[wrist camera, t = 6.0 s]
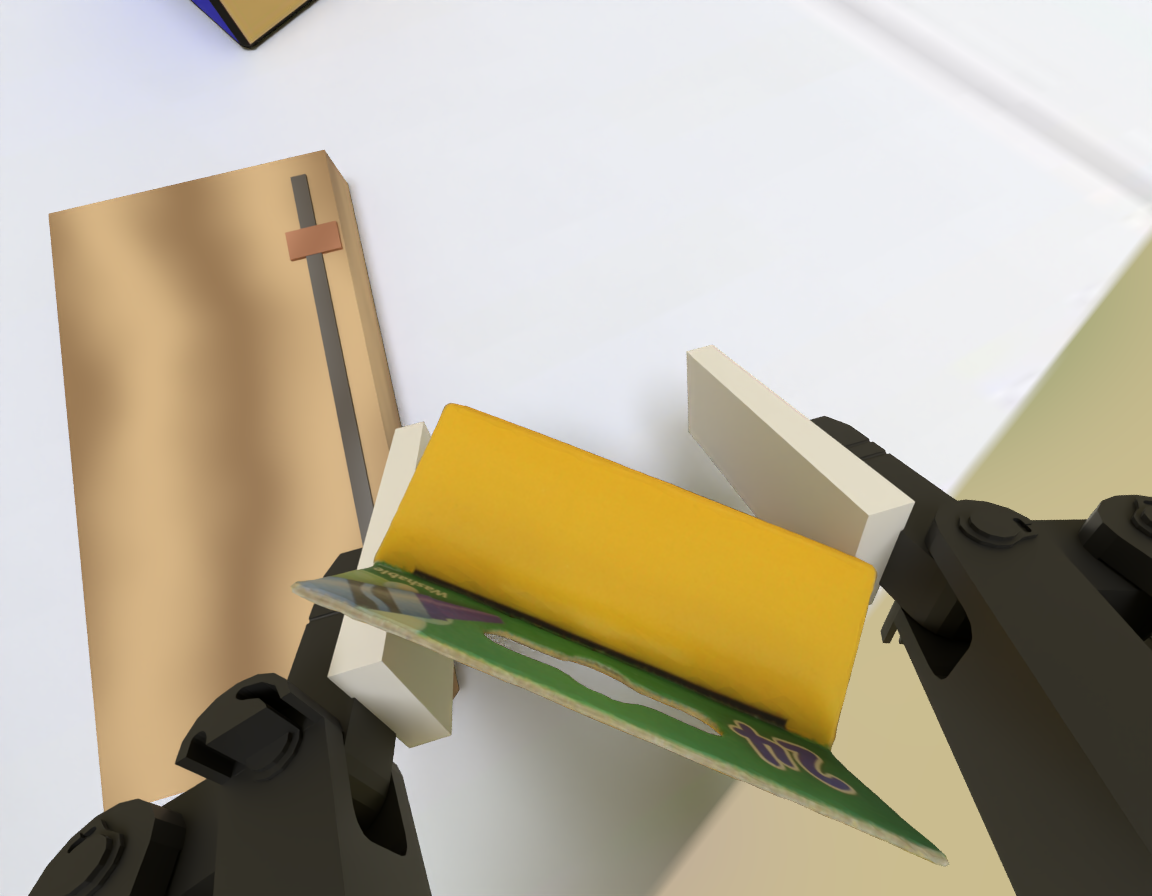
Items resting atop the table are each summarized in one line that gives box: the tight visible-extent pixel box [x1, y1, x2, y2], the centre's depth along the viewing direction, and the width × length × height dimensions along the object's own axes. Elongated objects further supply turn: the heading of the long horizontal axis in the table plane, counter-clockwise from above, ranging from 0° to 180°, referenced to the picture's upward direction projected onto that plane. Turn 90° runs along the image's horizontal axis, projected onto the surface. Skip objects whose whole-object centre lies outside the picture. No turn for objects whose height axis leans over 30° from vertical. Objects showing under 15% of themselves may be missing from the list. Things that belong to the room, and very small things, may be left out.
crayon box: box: [290, 403, 949, 866], centre depth 10 cm, size 7×3×12 cm, turn 68°
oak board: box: [49, 150, 459, 812], centre depth 16 cm, size 11×22×2 cm, turn 16°
